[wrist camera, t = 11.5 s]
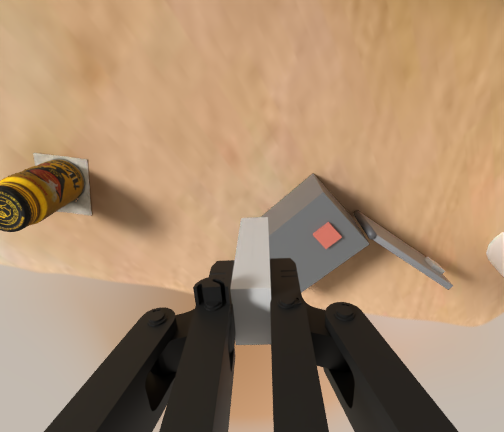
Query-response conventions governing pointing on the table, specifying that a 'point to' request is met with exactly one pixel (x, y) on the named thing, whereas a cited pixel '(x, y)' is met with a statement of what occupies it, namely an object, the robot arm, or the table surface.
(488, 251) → the foam cup
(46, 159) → the condiment
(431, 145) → the table surface
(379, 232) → the side door
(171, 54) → the table surface
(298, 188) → the camera box
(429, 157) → the table surface
